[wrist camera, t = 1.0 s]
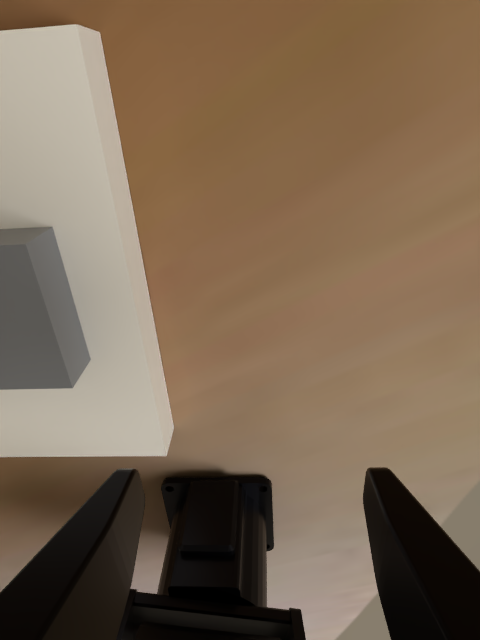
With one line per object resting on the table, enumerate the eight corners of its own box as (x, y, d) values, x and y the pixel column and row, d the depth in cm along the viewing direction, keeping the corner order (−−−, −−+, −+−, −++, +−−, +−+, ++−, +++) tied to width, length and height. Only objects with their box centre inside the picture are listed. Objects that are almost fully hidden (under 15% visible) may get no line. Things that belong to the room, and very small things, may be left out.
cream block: (173, 427, 23) (166, 456, 21) (-33, 430, 24) (-57, 457, 22) (99, 32, 14) (76, 24, 12) (-224, 59, 15) (-288, 55, 13)
